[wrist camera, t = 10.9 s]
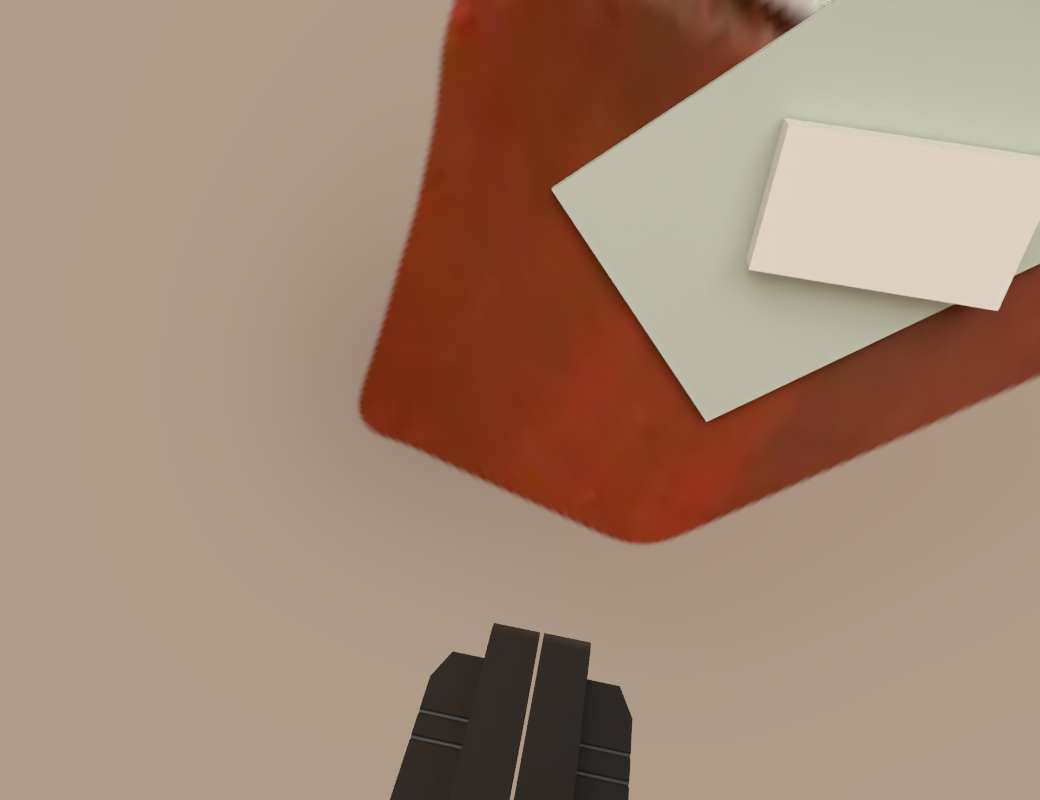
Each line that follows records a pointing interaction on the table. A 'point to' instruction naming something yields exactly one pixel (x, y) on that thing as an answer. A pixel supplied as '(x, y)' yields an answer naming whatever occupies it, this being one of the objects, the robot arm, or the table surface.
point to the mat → (746, 166)
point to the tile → (896, 213)
